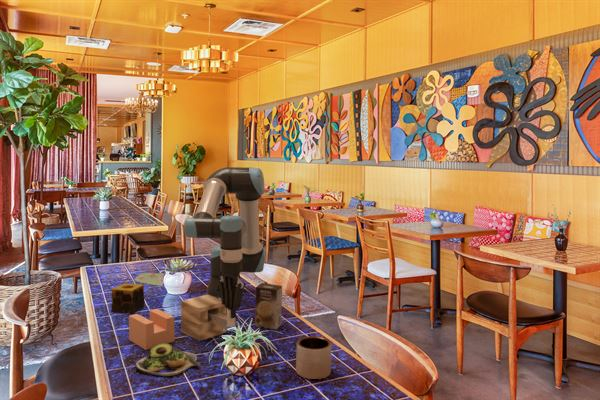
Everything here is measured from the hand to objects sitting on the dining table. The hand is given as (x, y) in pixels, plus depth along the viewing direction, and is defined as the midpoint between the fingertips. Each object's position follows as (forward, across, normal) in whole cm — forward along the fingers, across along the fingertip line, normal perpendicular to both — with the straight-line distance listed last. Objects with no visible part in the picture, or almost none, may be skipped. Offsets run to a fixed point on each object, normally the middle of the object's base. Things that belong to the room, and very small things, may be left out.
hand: (230, 326), depth 163 cm
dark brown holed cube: (+7, -60, -8) cm, 61 cm away
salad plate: (+7, -2, -24) cm, 25 cm away
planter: (+7, +35, +5) cm, 36 cm away
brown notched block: (+7, -16, 0) cm, 18 cm away
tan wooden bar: (+1, -12, 0) cm, 12 cm away
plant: (+8, -96, +26) cm, 100 cm away
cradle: (+7, -22, -18) cm, 29 cm away
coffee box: (+7, -4, +22) cm, 23 cm away
